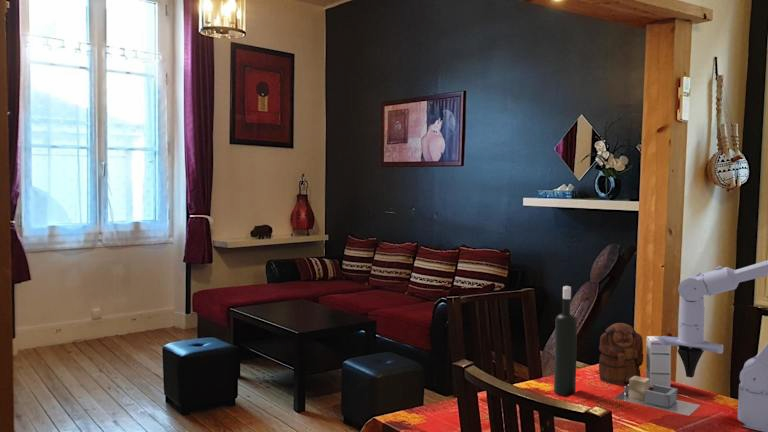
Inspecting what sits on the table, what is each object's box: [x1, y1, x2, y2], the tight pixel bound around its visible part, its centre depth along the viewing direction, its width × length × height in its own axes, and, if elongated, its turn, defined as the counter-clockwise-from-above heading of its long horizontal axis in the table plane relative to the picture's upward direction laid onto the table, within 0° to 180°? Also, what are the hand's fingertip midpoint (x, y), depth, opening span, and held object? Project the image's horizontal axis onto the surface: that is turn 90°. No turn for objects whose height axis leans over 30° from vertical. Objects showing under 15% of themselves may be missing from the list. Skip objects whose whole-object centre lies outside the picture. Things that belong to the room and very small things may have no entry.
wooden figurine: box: [598, 322, 644, 386], centre depth 185 cm, size 12×6×18 cm, turn 98°
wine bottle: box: [553, 285, 578, 397], centre depth 177 cm, size 6×6×30 cm
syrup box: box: [645, 335, 672, 388], centre depth 182 cm, size 6×6×14 cm
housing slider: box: [644, 384, 679, 407], centre depth 168 cm, size 6×7×3 cm
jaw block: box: [629, 376, 651, 401], centre depth 171 cm, size 4×4×5 cm
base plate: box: [613, 384, 701, 417], centre depth 168 cm, size 19×10×4 cm, turn 49°
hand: (690, 376), depth 163 cm, fingers closed
